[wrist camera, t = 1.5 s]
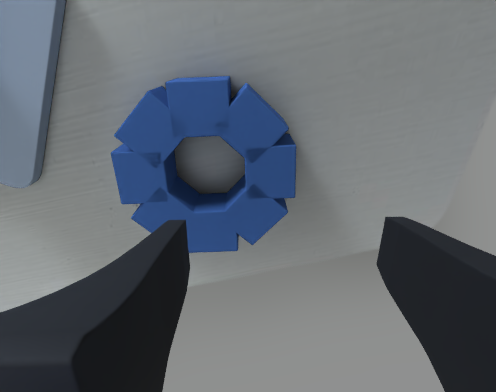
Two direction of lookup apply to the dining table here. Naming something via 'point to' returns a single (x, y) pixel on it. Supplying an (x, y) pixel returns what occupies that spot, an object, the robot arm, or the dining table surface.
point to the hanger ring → (199, 125)
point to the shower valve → (26, 84)
